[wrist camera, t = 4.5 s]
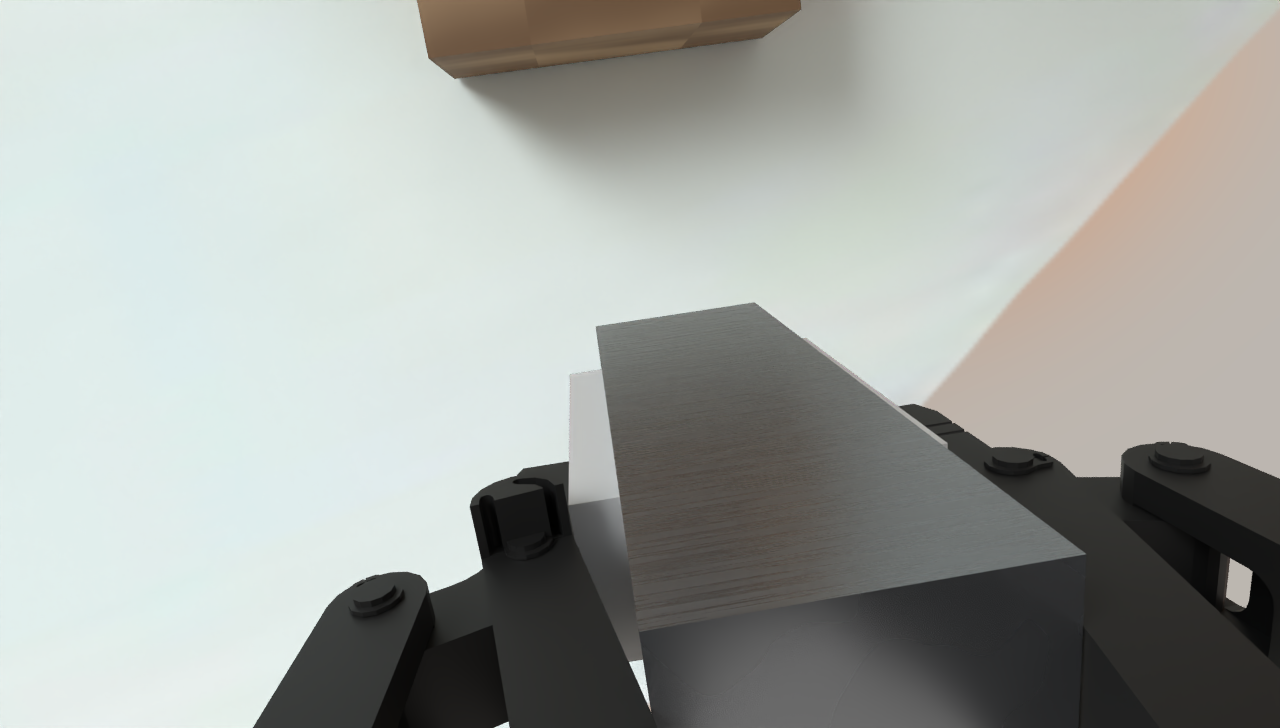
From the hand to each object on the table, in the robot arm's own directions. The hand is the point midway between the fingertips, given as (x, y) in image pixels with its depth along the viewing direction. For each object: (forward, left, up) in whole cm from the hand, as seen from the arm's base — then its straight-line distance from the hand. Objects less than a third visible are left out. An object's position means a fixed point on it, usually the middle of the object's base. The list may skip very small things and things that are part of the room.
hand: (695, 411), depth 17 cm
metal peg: (0, 0, -2) cm, 2 cm away
